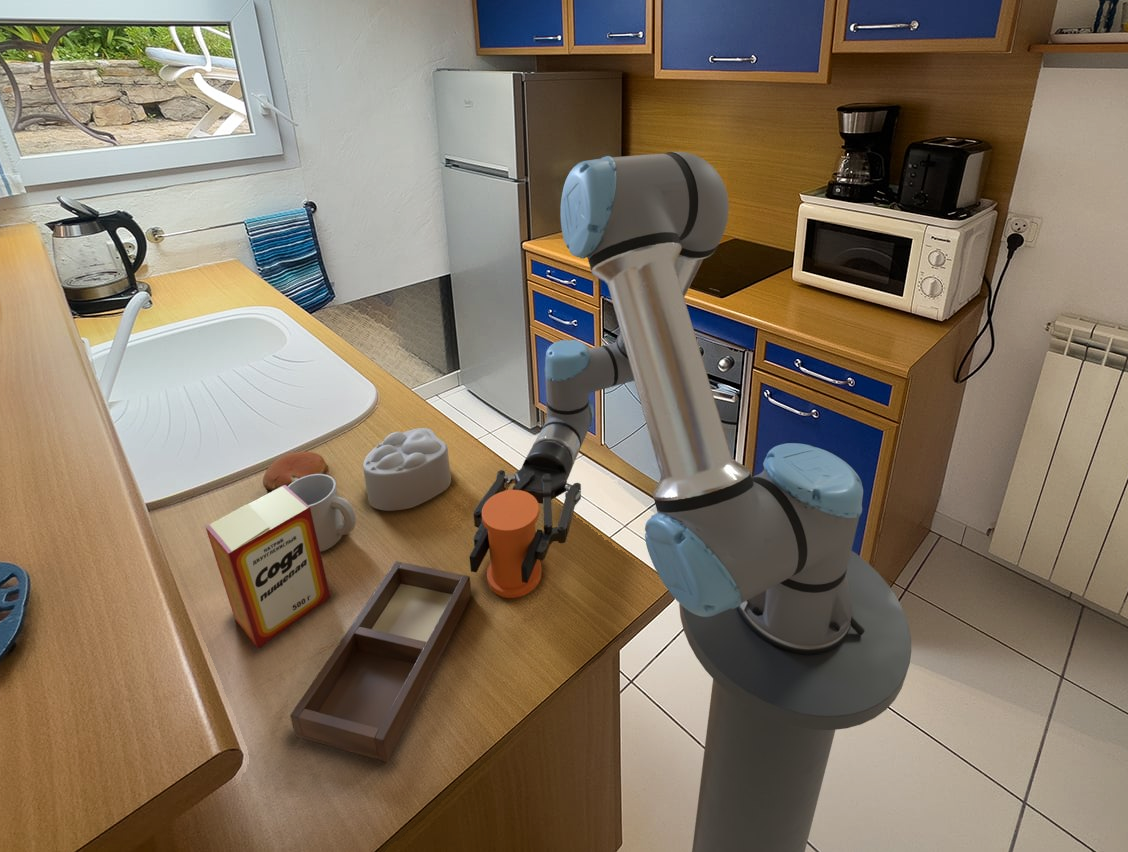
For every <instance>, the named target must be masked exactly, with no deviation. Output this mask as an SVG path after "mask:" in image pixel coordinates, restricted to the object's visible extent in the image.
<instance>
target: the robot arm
mask: <svg viewBox="0 0 1128 852" xmlns="http://www.w3.org/2000/svg"><path fill="white" fill-rule="evenodd" d="M728 197H729V195H728V191H727V187H726V185H725V183H724V181H723V179H722V176H721V175H720V174H719V172H718V171H717V170H716V169H715V167H714V166H713V165H712V164H710V163H709V162H708V161H707V160H705V159H704V158H702V157H700V156H698V155H697V154H693V153H689V152H685V151H667V152H663V153H653V154H652V153H651V154H639V155H627V156H626V155H625V156H610V155H605V156H603V157H601V158H596V159H589V160H582V161H580V162H578V163H577V164H576V165H574V166H573V168H571V170H570V171H569V173H568V175H567V177H566V179H565V182H564V184H563V189H562V193H561V200H560V226H561V233H562V238H563V241H564V244H565V247H566V248H567V250H569V253H570V255H572V256H573V257H575V258H579V259H582V260H583V259H586V258H587V261H588V264H589V268H590V272H591V274H592V275H593V276H594V277H596V278H598V279H599V280H601V281H603V282H604V283H605V284H606V285H607V288H608V291H609V294H610V297H611V302H612V305H613V309H614V313H615V317H616V320H617V324H618V327H619V333H618V335H617V337H616V340H615V341H614V342H613V343H607V344H605V345H600V346H595V347H591V348H589V347H588V346H587V344H585V343H584V342H582V341H579V340H577V339H576V340H575V339H571V340H566V339H563V340H557V341H556V342H554V343H552V344H551V345H549V346H548V348H547V349H546V352H545V358H544V376H545V377H544V378H545V379H544V380H545V393H546V395H545V396H546V402H545V404H546V405H545V406H546V409H545V410H546V417H545V422H544V424H543V426H542V428H541V430H540V432H539V434H538V435H537V437H536V438H535V440H534V442H533V444H532V447H531V448H530V450H529V452H528V454H527V455H526V457H525V459H524V461H523V463H522V465H521V468H519V470H517V471H516V472H515V473H514V474H512V473H511V474H506V471H505V470H504V469H500V470H498V471H497V472H496V479H495V481H494V482H493V483H492V485H491V486H490V488H489V489H488V490H487V491H486V493H485V494H484V496H483V497H482V498H481V499H480V501H479V503H478V504H477V505H476V507H475V508H474V509H473V511H472V513H473V525H474V527H475V528H477V530H476V531H475V534H474V535H473V549H472V551H471V553H470V554H469V556H468V557H469V566H470V572H471V573H476V574H477V572H478V570H479V568H480V566H481V565H482V562H483V561H484V559H485V556H487V553H488V551H489V540H488V530H487V529H486V527H485V526H484V524H483V521H482V508H483V506H484V504H485V503H486V501H487V500H488V499H489V498H491V497H492V496H493V495H495V494H497V493H500V492H503V491H507V490H509V488H510V486H511V485H512V484H514V485H513V486H512V488H511V490H521V491H525V492H527V493H530V494H531V495H533V496H534V497H535V498H536V500H537V502H538V504H542V508H543V509H542V510H543V511H542V513H543V514H542V515H543V517H542V518H543V524H542V525H543V529H538V528H537V530H535V532H536V534H535V536H534V538H533V540H532V543H531V545H530V547H529V550H528V552H527V554H526V556H525V559H524V561H523V563H522V566H521V574H522V582H525V583H528V581H529V578H530V576H531V573H532V571H533V568H534V566H535V564H536V561H537V559H538V560H539V561H544V560H545V559H546V556H547V554H548V552H549V550H550V547H551V544H553V543H555V542H558V543H559V544H565V543H566V542H567V539H568V535H569V531H570V526H571V524H572V519H573V515H574V513H575V507H576V506H577V504H578V503H579V502H580V500H581V499H582V484H581V483H580V482H575V483H573V484H570V483H568V480H569V477H570V475H571V472H572V469H573V467H574V465H575V462H576V461H577V457H578V455H579V453H580V450H581V448H582V446H583V443H584V441H585V439H586V436H587V434H588V432H589V431H590V428H591V427H592V423H593V418H594V413H595V410H594V405H593V404H592V402H591V400H590V394H591V393H595V392H599V391H602V390H605V389H609V388H613V387H616V386H620V385H624V384H627V383H631V382H634V384H635V387H636V392H637V395H638V399H639V402H640V405H641V409H642V413H643V416H644V420H645V424H646V427H647V430H648V435H649V438H650V441H651V446H652V448H653V453H654V455H655V456H654V457H655V460H656V463H657V467H658V471H659V473H660V478H659V482H658V483H657V485H656V487H655V488H654V491H653V493H652V497H653V501H654V505H655V508H656V513H654V514H652V515H651V517H650V518H649V519H647V521H646V523H645V527H644V531H645V533H644V540H645V545H646V550H647V552H648V556H649V558H650V561H651V562H652V566H653V567H654V569H655V571H656V573H657V575H658V577H659V579H660V581H661V582H662V584H663V585H664V586H665V588H666V590H667V591H668V592H669V593H670V594H671V596H672V597H673V598H674V600H676V602H678V604H679V603H680V604H681V605H682V606H683V607H684V608H685V609H687V610H688V611H690V612H691V613H693V614H695V615H698V616H702V617H710V616H714V615H716V614H718V613H721V612H723V611H725V610H728V609H730V608H731V609H733V608H737V610H738V612H739V615H740V616H741V618H742V619H743V621H744V622H745V624H746V625H747V626H748V627H749V628H750V629H751V630H752V631H753V632H754V633H755V634H756V635H757V636H758V637H760V638H761V639H762V640H764V641H765V642H767V643H768V644H770V645H772V646H774V647H776V648H778V649H781V650H783V651H786V652H790V653H794V654H799V655H818V654H823V653H826V652H829V651H831V650H833V649H835V648H836V647H838V646H839V645H840V644H841V643H842V642H843V641H844V640H845V638H846V637H847V635H848V632H849V629H850V626H851V627H852V628H853V629H854V630H855V631H856V632H857V633H858V634H859V635H862V634H863V633H864V629H863V628H862V627H861V626H860V625H859V624H858V623H857V622H856V621H855V619H854V618H853V617H852V616H853V608H852V600H851V595H850V590H849V585H848V580H847V576H846V571H847V567H848V563H849V559H850V554H851V550H852V551H853V546H854V541H855V538H856V533H857V528H858V524H859V521H860V517H861V515H862V513H863V497H864V488H863V482H862V480H861V478H860V476H859V474H858V473H857V471H855V469H854V468H853V467H852V466H851V465H849V464H848V463H847V462H846V461H845V460H843V459H842V458H841V457H839V456H837V455H835V453H834V454H833V453H832V452H830V451H827V450H825V449H822V448H819V447H816V446H813V445H811V444H805V443H798V442H791V443H790V442H789V443H787V442H786V443H781V444H778V445H775V446H774V447H772V448H771V449H770V450H769V451H768V452H767V453H766V457H764V461H763V463H762V466H763V470H762V472H760V473H759V474H756V475H753V476H752V474H751V470H750V468H749V467H747V466H745V465H743V464H742V463H740V462H739V461H737V460H736V459H734V458H733V456H732V452H731V449H730V447H729V443H728V440H727V436H726V433H725V430H724V429H725V428H724V426H723V422H722V419H721V416H720V413H719V410H718V407H717V403H716V399H715V397H714V393H713V390H712V389H713V388H712V386H711V383H710V380H709V376H708V373H707V370H706V366H705V363H704V359H703V356H702V353H701V349H700V346H699V342H698V339H697V337H696V336H697V335H696V332H695V329H694V326H693V323H692V320H691V316H690V313H689V310H688V309H689V308H688V306H687V303H686V299H685V297H686V295H687V294H688V293H687V292H688V291H689V289H690V287H691V284H692V282H693V281H694V279H695V277H696V275H697V273H698V271H699V269H700V267H701V265H702V263H703V261H704V259H708V258H709V257H711V256H712V255H714V254H715V252H716V251H717V248H718V247H719V245H720V244H721V242H722V239H723V236H724V234H725V232H726V229H727V224H728V220H729V209H730V203H729V198H728ZM562 494H564V497H565V498H564V502H563V505H562V509H561V513H560V516H559V520H558V523H557V526H554V527H553V509H552V508H553V506H552V500H554V499H555V498H557V497H559V496H561V495H562Z"/></svg>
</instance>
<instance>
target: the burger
mask: <svg viewBox="0 0 1128 852" xmlns="http://www.w3.org/2000/svg"><path fill="white" fill-rule="evenodd" d="M329 472H330V466H329V464H328V463H327V462H326V461H325V458H324V457H323V456H322V455H321V454H319V453H317V452H313V451H295V452H290V453H287V454H284V455H282V456H280V457H278V458H277V459H275V460H274V461H273V462H272V463H271V464H270V466H268V468H267V470H266V471H265V473H264V475H263V478H262V485H263V488H264V489H265V490H266V494H268V493H270V492H272V491H274V490H276V489H278V488H280V487H281V486H283V485H286V486H289V485H290V484H291V483H292V482H294V481H296V480H298V479H300V478H302V477H305V476H308V475H313V474H325V475H329Z"/></svg>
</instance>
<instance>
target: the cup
mask: <svg viewBox="0 0 1128 852" xmlns="http://www.w3.org/2000/svg"><path fill="white" fill-rule="evenodd" d="M287 487H288V488H289V489H290V490H291V491H293V492H294V493H295V494H296V495H297V496H298V497H299V498H300V499H302V500H303V501H304V502H305V503H306V504H307V505H308V506H309V507H310V510H311V514H312V518H313V523H314V527H315V532H316V536H317V540H318V545H319V549H320V553H322V552H325V551H327V550H329V549H331V548H333V546H335V545H336V544H337V543H338V542H339V541H340V540H341V538H342V536H345V535H348V534H350V532H352V531H353V530H354V528H355V526H356V521H357V520H356V519H357V516H356V512H355V511H356V510H355V509H354V507H353V505H352V504H351V502H349V501H348V500H347V499H346V498H344V497H342V496H339V494H338V488H337V484H336V479H334V477H332V476H330V475H329V474H328V475H325V474H313V475H308V476H305V477H302V478H300V479H298V480H296V481H294V482H292V483H291V484H290V485H289V486H287Z"/></svg>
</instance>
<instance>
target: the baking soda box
mask: <svg viewBox="0 0 1128 852" xmlns="http://www.w3.org/2000/svg"><path fill="white" fill-rule="evenodd" d="M205 530H206V533H207V537H208V540H209V542H210V546H211V549H212V552H213V555H214V559H215V561H216V565H217V567H218V568H217V569H218V571H219V573H220V577H221V580H222V584H223V587H224V590H225V594H226V596H227V599H228V602H229V606H230V608H231V611H232V615H233V617H234V620H235V622H237V624H238V625H239V626H240V628H241V629H242V630H243V631H244V633H245V635H247V637H248V638H249V639H250V640H251V642H252V643H253V644H254V646H255V647H256V648H257V649H259V648H260V647H262V646H263V645H265V644H266V643H268V642H269V641H270V640H272V639H273V638H274V637H276V636H278V635H279V634H280V633H281V632H284V631H285V630H286V629H288V628H289V627H290V626H291V625H293V624H294V623H296V622H297V621H299V620H300V619H302V618H303V617H305V615H308V614H309V613H310V612H311V611H313V610H314V609H316V608H317V607H319V606H320V605H321V604H323V603H325V602H326V601H327V600H328V599H330V598H331V593H330V589H329V585H328V584H329V583H328V580H327V575H326V572H325V566H324V562H323V559H322V552H320V549H319V545H318V540H317V536H316V532H315V527H314V523H313V518H312V514H311V510H310V507H309V506H308V505H307V504H306V503H305V502H304V501H303V500H302V499H300V498H299V497H298V496H297V495H296V494H295V493H294V492H293V491H291V490H290V489H289V488H288V487H287V486H286V485H283V486H281V487H280V488H278V489H276V490H274V491H272V492H270V493H268V494H267V493H266V494H265V495H263V496H260V497H259V498H257V499H255V500H253V501H251V502H249V503H246V504H244V505H243V506H241V507H240V506H239V508H237V509H235V510H232V511H230V512H229V513H228V514H226V515H224V516H222V517H220V518H219V519H216V520H214V521H213V522H211V523H209V524H207V525H206V526H205Z"/></svg>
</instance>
